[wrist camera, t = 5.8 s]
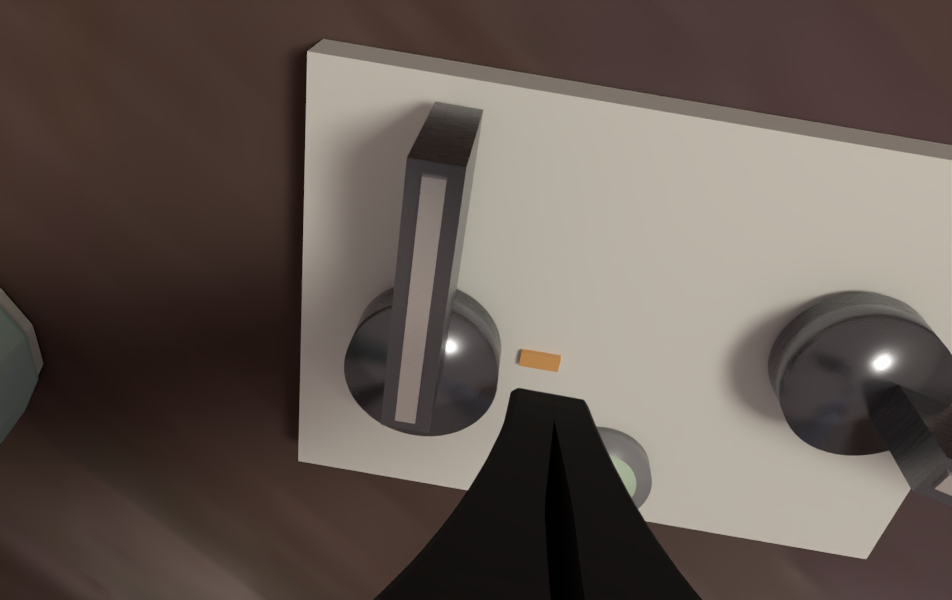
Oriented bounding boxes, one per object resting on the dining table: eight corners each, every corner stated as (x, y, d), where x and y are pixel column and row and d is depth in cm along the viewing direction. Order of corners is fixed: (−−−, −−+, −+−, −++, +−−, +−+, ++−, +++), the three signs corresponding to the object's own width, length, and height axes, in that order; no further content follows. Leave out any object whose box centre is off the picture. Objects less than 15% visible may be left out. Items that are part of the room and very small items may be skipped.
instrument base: (851, 525, 27) (874, 577, 25) (310, 432, 27) (291, 476, 25) (1064, 164, 20) (1121, 197, 18) (323, 39, 20) (297, 57, 18)
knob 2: (489, 413, 23) (476, 522, 19) (352, 389, 23) (313, 493, 20) (548, 115, 18) (546, 183, 14) (374, 86, 18) (325, 145, 14)
